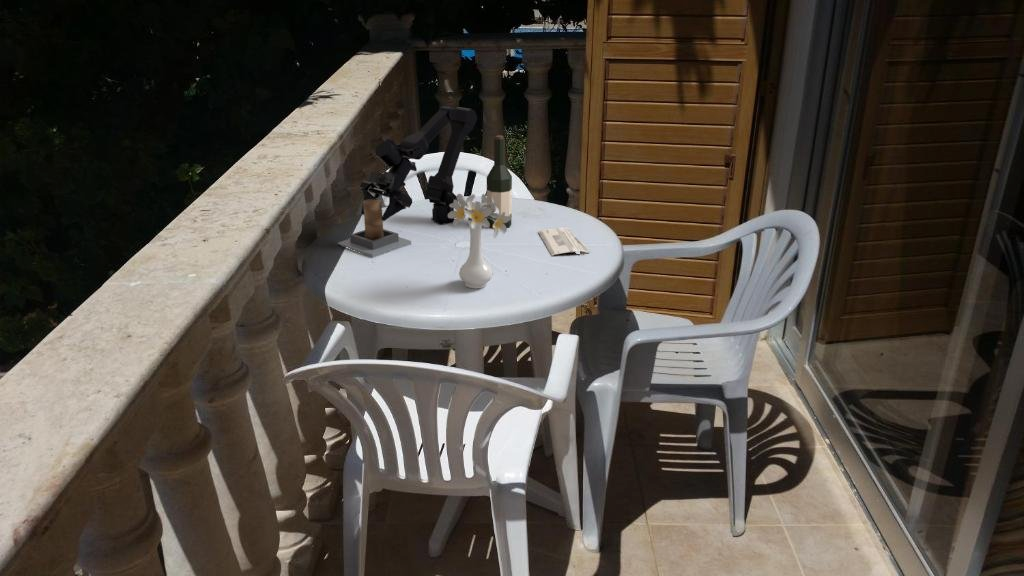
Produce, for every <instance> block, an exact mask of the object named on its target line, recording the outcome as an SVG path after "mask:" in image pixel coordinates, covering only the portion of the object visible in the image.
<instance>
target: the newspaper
mask: <svg viewBox="0 0 1024 576" xmlns="http://www.w3.org/2000/svg"><path fill="white" fill-rule="evenodd" d="M537 232H538V236H541V237H540V238H541V240H542V241H543V244H544V243H545V244H544V245H545V247H546V249H547V250H548V253H549V255H550V256H551V257H554V256H555V255H560V254H561V255H562V254H566V253H574V252H576V251H580V254H584V255H585V254H587V253H591V251H590V249H588V248H587V247H586V245H585V244H584V243H583V241H581V240H580V239H579V238H578V237H577V236H575V234H574V233H573V231H572V230H571V229H570V228H568V227H567V226H566V227H555V228H549V229H541V230H540V231H537ZM576 237H577V238H576Z"/></svg>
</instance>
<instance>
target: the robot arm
mask: <svg viewBox="0 0 1024 576" xmlns="http://www.w3.org/2000/svg"><path fill="white" fill-rule="evenodd" d="M477 121H478V115H477V112H476V111H475V109H472V108H466V107H460V106H457V107H455V108H454V107H449V106H440V107H439V108H438V110H437V112H436V113H435V114H434V115H433V116H432V117H431V118H430V119H429V120H428V121H427V122H426V123H425V124H424V125H423V126H422V127H421V128H420V129H419V130H418V131H417V132H415V133H413V134H410V135H408V136H406V137H405V138H404V139H402V140H401V142H400V143H398V144H397V143H396V141H394V139H392V138H387V139H386V140H385V141H382V142H381V143H379V144H378V145H377V146H376V148H375V151H374V153H375V156H377V158H379V160H381V162H382V163H384V165H386V166H387V167H389V170H388V171H383V173H380V172H377V171H373V170H370V171H369V174H368V177H367V181H366V180H365V181H361V183H360V185H359V186H358V187H359V189H360V192H361V193H362V195H363V201H364V200H367V199H378V198H380V196H382V197H386V198H389V200H388V201H389V202H388V205H387V207H386V208H385V211H384V212H383V213H382V220H383V222H385V221H387V220H388V219H389V218H391V217H392V216H394V215H395V214H398V213H399V212H401V211H402V210H406V209H407V208H409V209H410V207H411V206H412V204H413V198H412V197H411V196H410V195H409V194H408V193H407V192H406V191H404V190H401V188H402V187H405V186H406V184H407V183H406V182H405V181H406V179H407V177H408V175H409V174H410V172H411V171H413V172H417V171H418V170H417V169H418V168H417V166H416V162H415V161H411V160H410V159H412V160H417V161H418V160H421V159H422V158H423V157H424V155H425V154H426V153H427V152H428V150H429V145H430V143H432V141H433V139H434V138H436V136H438V134H440V132H441V131H443V129H444V128H445V127H446V126H447V125H448V124H449V126H450V135H449V138H448V141H447V144H446V146H445V149H444V152H443V155H442V159H441V161H440V165H439V168H438V171H437V173H436V174H435V175H429V176H428V181H427V184H426V185H425V187H426V190H425V194H426V196H427V197H428V201H429V203H430V204H431V203H432V206H433V207H432V209H431V211H432V217H431V219H430V220H431V221H432V222H434V223H437V224H438V225H446V224H451V223H452V224H453V222H454V220H455V219H456V218H448V214H449V213H450V212H451V211H455V208H451V207H450V206H449V205H450V204H452V203H453V202H454V200H457V194H455V193H454V192H453V191H454V186H455V185H454V182H453V181H454V180H453V175H454V172H455V169H456V166H457V163H458V162H459V161H458V160H459V158H460V154H461V151H462V148H463V145H464V143H465V140H466V137H467V136H468V134H470V133H471V132H472V131H473V130H474V127H475V125H477V124H476V123H477ZM374 183H375V184H374ZM363 201H362V202H363ZM457 201H458V200H457ZM361 215H363V216H364V205H363V204H362V206H361Z"/></svg>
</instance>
